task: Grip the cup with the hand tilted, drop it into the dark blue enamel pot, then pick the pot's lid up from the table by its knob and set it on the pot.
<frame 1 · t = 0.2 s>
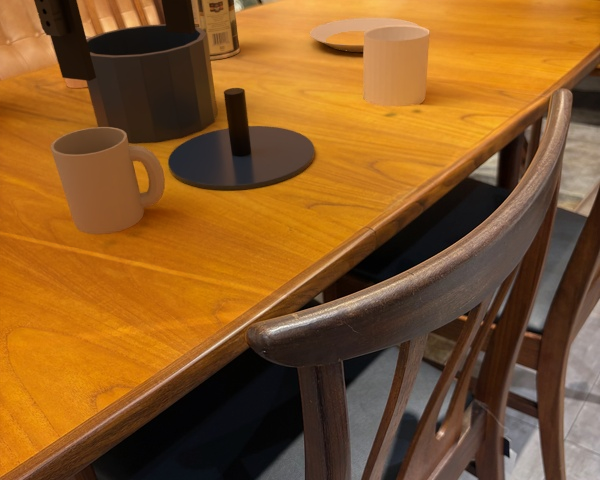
hand: (135, 53, 51), 18 cm above the table, tool pointing down, fingers open, 13 cm apart
shot glass: (83, 84, 106), on the table
coffee can: (213, 54, 117), on the table
plate: (364, 43, 117), on the table
mug: (396, 97, 91), on the table
lid: (242, 157, 75), point 1 cm above the table
pot: (159, 124, 87), on the table
cup: (124, 221, 65), on the table
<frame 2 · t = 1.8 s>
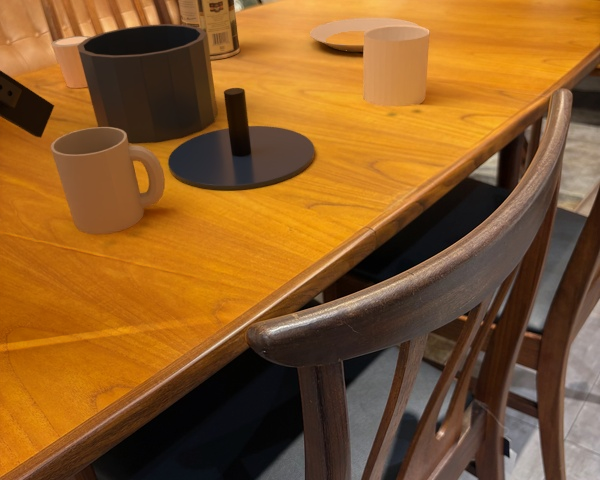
nothing on the table moved.
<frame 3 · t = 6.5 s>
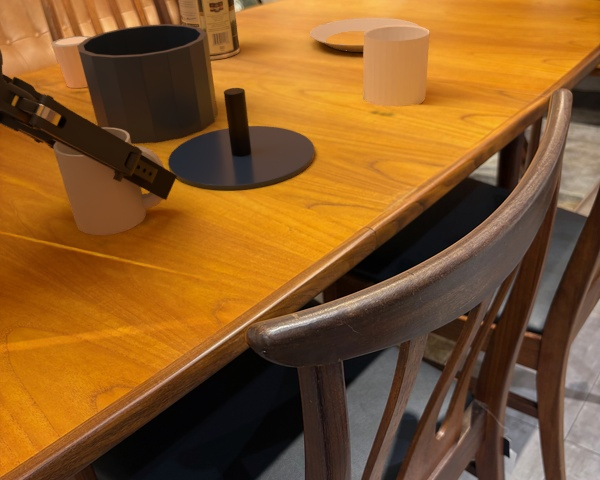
hand: (141, 176, 65), 4 cm above the table, tool tilted 45°, fingers closed on cup, 8 cm apart
cup: (126, 222, 65), on the table, touching gripper
everything else where it was.
when the fingers open (13 cm above the table, at t = 16.4 s): cup drops 8 cm, resting on pot.
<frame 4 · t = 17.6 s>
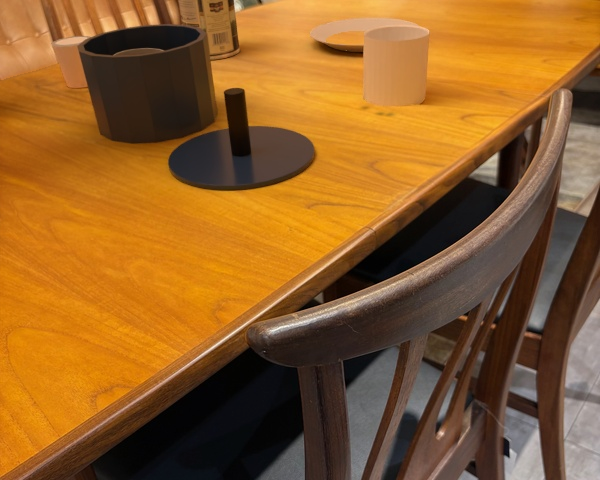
cup: (160, 121, 87), resting on pot
everything else where it was.
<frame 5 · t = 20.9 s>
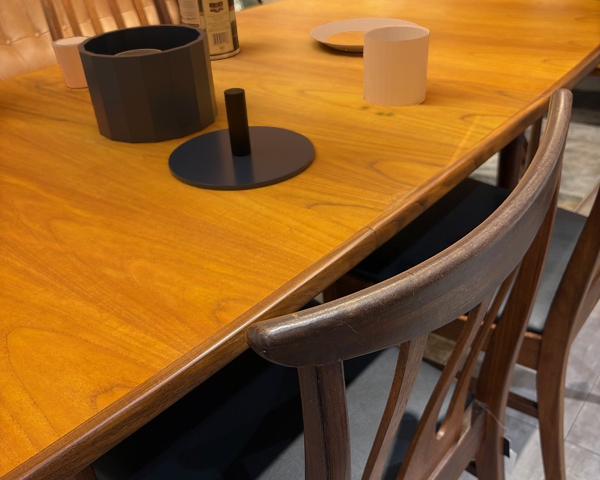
nothing on the table moved.
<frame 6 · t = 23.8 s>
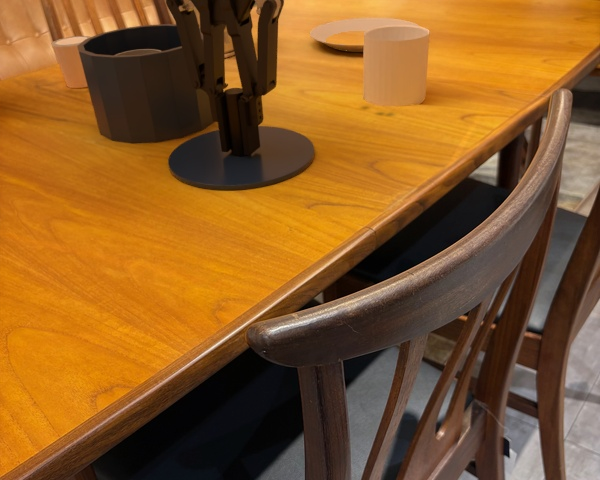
hand: (241, 148, 74), 2 cm above the table, tool pointing down, fingers closed on lid, 2 cm apart
lid: (242, 157, 75), point 1 cm above the table, touching gripper
everything else where it was.
when the fingers open (13 cm above the table, at t = 30.6 s): lid stays where it is, resting on pot.
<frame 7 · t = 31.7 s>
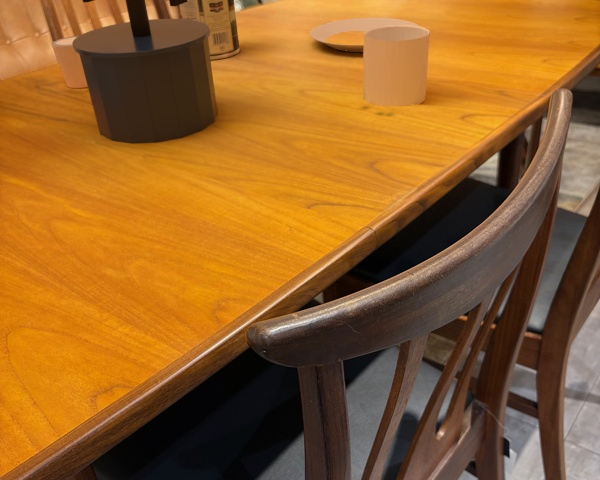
hand: (134, 2, 78), 16 cm above the table, tool pointing down, fingers open, 13 cm apart
lid: (142, 39, 81), point 11 cm above the table, touching pot
everything else where it was.
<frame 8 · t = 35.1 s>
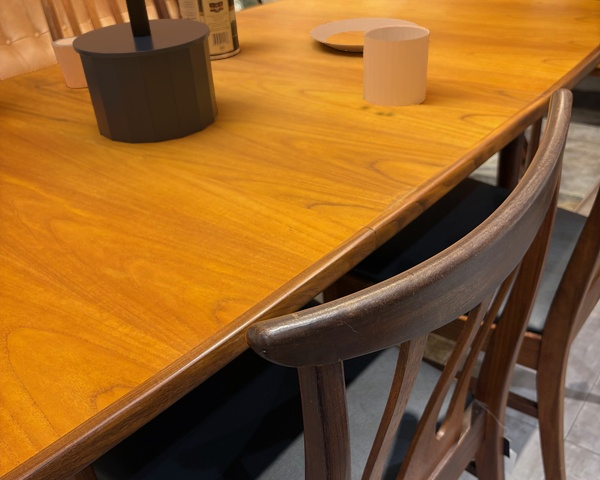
nothing on the table moved.
at the end: cup inside the target area in the pot (0.3 cm from its centre), point 0.3 cm above the pot's base; lid 0.0 cm off-centre on the pot, point 11.5 cm above the pot's base; lid tilted 0° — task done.
